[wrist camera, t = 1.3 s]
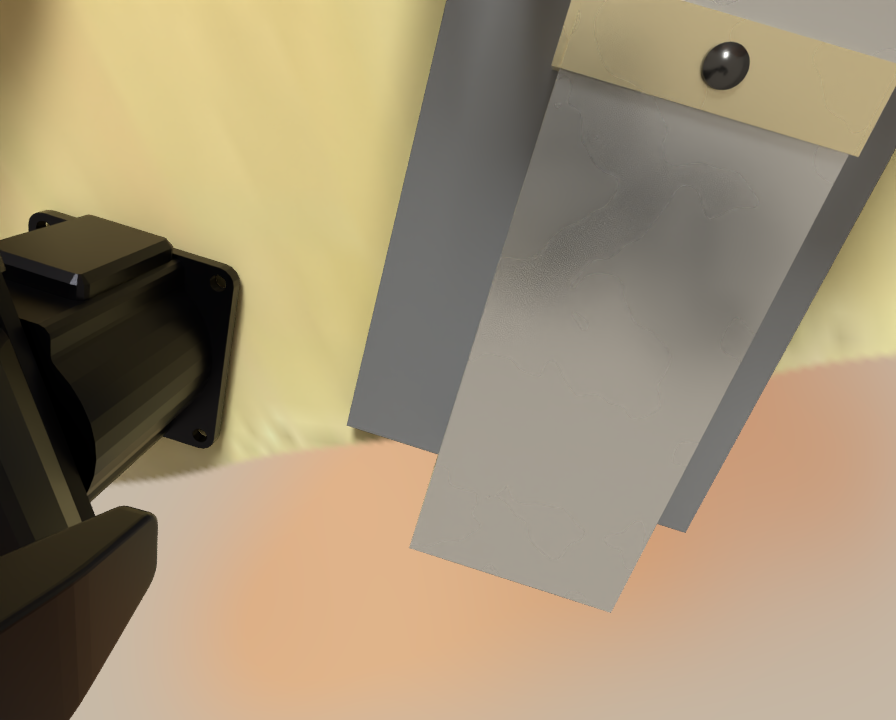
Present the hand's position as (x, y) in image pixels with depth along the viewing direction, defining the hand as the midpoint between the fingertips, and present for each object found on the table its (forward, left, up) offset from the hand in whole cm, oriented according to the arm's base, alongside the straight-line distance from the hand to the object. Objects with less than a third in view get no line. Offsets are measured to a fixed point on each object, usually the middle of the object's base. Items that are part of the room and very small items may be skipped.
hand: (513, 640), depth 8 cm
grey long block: (+3, -1, -11) cm, 12 cm away
